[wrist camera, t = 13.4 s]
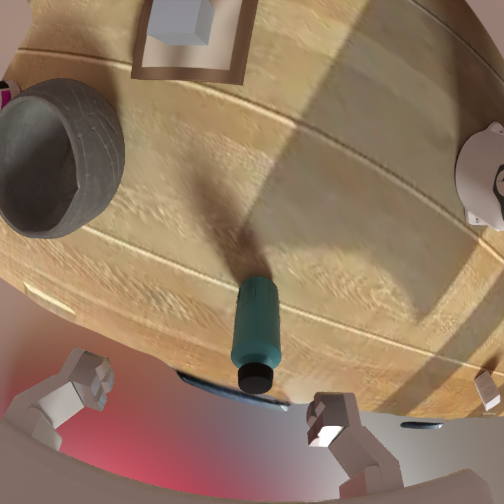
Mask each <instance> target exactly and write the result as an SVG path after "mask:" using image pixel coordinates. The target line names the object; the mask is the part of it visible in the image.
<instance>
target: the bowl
mask: <svg viewBox="0 0 504 504" xmlns="http://www.w3.org/2000/svg"><path fill="white" fill-rule="evenodd" d="M124 164H125V145H124V137H123V132H122V128H121V125H120V122H119V120H118V117H117V114H116V112H115V111H114V109H113V108H112V107H111V106H110V104H109V103H108V102H107V101H106V100H105V99H104V98H103V97H102V96H101V95H100V94H99V93H98V92H96V91H95V90H94V89H93V88H91V87H89V86H88V85H86V84H84V83H82V82H79V81H76V80H73V79H65V78H57V79H51V80H47V81H44V82H41V83H38V84H36V85H34V86H32V87H30V88H28V89H26V90H24V91H22V92H21V93H19V94H18V95H16V96H15V97H13V98H12V99H11V100H10V101H9V102H8V103H7V104H6V105H5V106H4V107H3V108H2V109H1V111H0V215H1V217H2V218H3V219H4V221H5V222H6V223H7V224H8V225H9V226H10V227H11V228H12V229H13V230H14V231H16V232H17V233H19V234H21V235H23V236H25V237H29V238H42V239H54V238H60V237H63V236H65V235H68V234H70V233H72V232H73V231H75V230H77V229H78V228H80V227H81V226H83V225H85V224H86V223H88V222H89V221H91V220H92V219H94V218H95V217H97V216H98V215H99V214H100V213H102V212H103V211H104V210H105V209H106V208H107V206H108V205H109V203H110V202H111V200H112V198H113V197H114V195H115V193H116V191H117V189H118V187H119V184H120V181H121V177H122V174H123V169H124Z"/></svg>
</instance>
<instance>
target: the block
mask: <svg viewBox="0 0 504 504" xmlns="http://www.w3.org/2000/svg"><path fill="white" fill-rule="evenodd" d="M214 13H215V10H214V8H213V6H212V5H211V3H210V1H209V0H154V1H153V5H152V9H151V14H150V18H149V23H148V28H147V33H146V34H147V35H149V36H151V37H153V38H155V39H157V40H159V41H161V42H163V43H165V44H167V45H196V46H208V44H209V38H210V33H211V28H212V23H213V18H214Z"/></svg>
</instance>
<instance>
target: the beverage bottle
mask: <svg viewBox="0 0 504 504" xmlns="http://www.w3.org/2000/svg"><path fill="white" fill-rule="evenodd" d="M239 287H240V288H238V289H239V293H238V296H237V298H238V300H236V304H237V306H236V307H237V309H236V308H235V309H236V317H235V316H234V317H235V320H234V321H235V325H234V333H233V335H234V337H233V346H232V351H231V359H232V362H233V363H234V365H235V366H236V367H238V368H239V370H238V385H239V388H240V389H241V390H242V391H244V392H246V393H249V394H263V393H266V392H268V391H269V390H270V389H271V387H272V382H273V369H274V368H276V367H277V366H278V365H279V363H280V361H281V346H280V331H281V330H280V321H281V319H280V317H279V307H280V301H279V302H278V298H279V297H278V291H279V290H277V287H276V285H275V284H274V283H273V282H272V281H271V280H270V279H268V278H266V277H262V276H254V277H250V278H248V279H246V280H245V281H244V282H243V283H242V284H241V286H239Z"/></svg>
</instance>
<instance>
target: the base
mask: <svg viewBox="0 0 504 504" xmlns="http://www.w3.org/2000/svg"><path fill="white" fill-rule="evenodd" d="M153 1H154V0H145V3H144V7H143V11H142V15H141V20H140V25H139V30H138V35H137V40H136V46H135V52H134V58H133V65H132V72H131V78H132V79H139V80H182V81H200V82H213V83H224V84H233V85H242V86H243V81H244V75H245V69H246V64H247V58H248V52H249V47H250V41H251V35H252V30H253V25H254V19H255V14H256V9H257V4H258V0H209V1H210V3H211V5H212V6H213V8H214V10H215V13H214V18H213V23H212V28H211V33H210V38H209V44H208V46H196V45H167V44H165V43H163V42H161V41H159V40H157V39H155V38H153V37H151V36H149V35H147V34H146V33H147V28H148V23H149V18H150V14H151V9H152V5H153Z"/></svg>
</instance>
